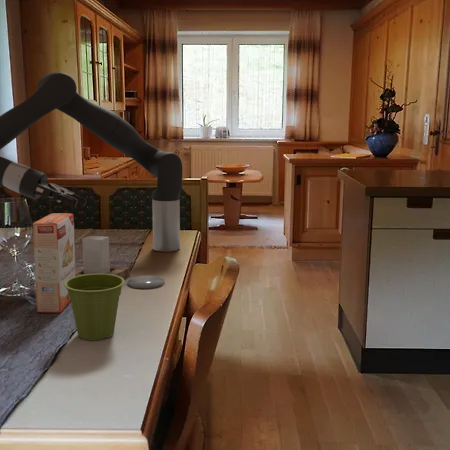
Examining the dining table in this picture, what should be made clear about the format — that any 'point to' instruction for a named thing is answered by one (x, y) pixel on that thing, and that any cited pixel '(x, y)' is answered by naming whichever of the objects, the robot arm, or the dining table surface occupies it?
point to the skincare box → (96, 255)
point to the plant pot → (95, 303)
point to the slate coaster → (145, 282)
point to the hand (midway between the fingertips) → (81, 203)
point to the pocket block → (114, 270)
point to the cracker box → (53, 260)
